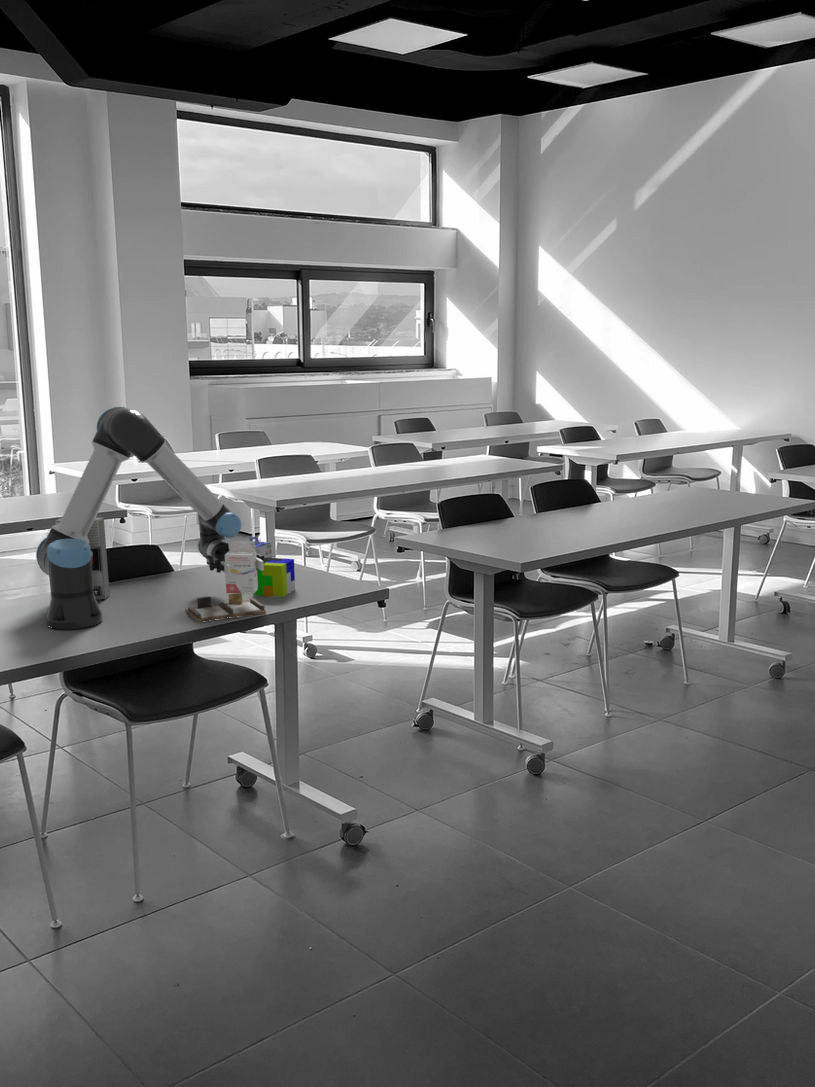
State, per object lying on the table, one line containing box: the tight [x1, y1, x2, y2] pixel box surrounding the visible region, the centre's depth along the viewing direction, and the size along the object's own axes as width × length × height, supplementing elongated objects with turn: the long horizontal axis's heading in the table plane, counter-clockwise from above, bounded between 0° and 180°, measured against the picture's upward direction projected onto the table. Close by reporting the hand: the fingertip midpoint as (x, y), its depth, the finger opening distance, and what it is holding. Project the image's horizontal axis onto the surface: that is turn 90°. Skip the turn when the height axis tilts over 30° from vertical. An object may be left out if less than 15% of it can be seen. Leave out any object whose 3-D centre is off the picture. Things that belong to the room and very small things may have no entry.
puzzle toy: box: [252, 557, 296, 598], centre depth 333 cm, size 10×10×10 cm
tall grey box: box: [54, 517, 111, 600], centre depth 327 cm, size 14×6×25 cm, turn 90°
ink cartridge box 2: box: [243, 536, 274, 558], centre depth 348 cm, size 10×6×14 cm, turn 148°
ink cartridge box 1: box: [224, 540, 258, 594], centre depth 309 cm, size 9×5×15 cm, turn 84°
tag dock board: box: [184, 593, 267, 623], centre depth 310 cm, size 20×14×4 cm
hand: (245, 568), depth 305 cm, fingers closed on ink cartridge box 1, 9 cm apart
